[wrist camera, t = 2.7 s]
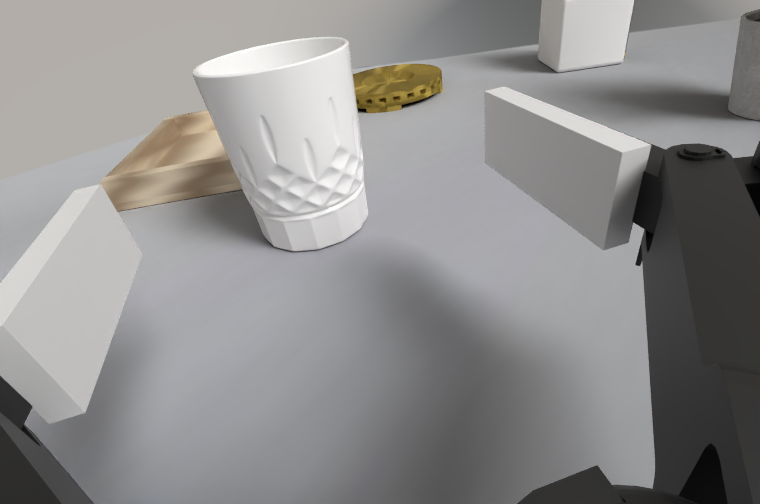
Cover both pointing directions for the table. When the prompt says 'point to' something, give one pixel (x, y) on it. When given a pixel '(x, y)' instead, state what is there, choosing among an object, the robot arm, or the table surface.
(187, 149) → the tray
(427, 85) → the gold notched disc
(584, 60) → the medicine bottle
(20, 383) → the robot arm
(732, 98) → the house plant
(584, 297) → the table surface
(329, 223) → the white cup
